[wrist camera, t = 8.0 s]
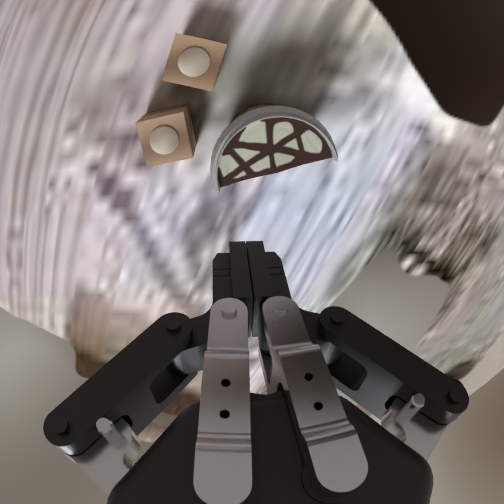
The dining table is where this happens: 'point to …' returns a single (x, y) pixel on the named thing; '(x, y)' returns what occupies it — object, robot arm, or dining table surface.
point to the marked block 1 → (194, 62)
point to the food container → (268, 144)
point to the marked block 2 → (167, 135)
